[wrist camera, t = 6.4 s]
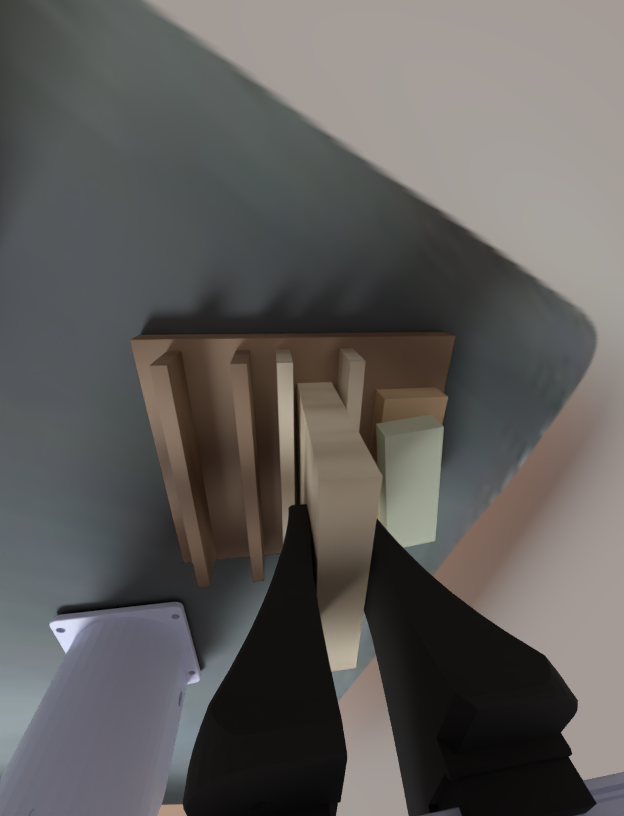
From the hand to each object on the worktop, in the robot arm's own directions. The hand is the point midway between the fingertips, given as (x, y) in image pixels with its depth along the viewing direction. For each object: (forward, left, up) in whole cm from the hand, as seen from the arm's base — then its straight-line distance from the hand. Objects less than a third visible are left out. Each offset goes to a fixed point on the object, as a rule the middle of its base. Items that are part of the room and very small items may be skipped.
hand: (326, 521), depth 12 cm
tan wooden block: (0, 0, -4) cm, 4 cm away
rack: (0, +1, -5) cm, 5 cm away
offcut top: (-1, -4, -3) cm, 5 cm away
